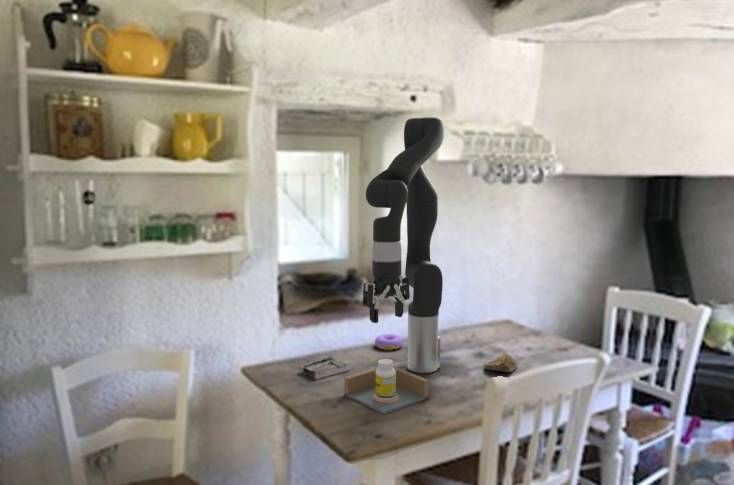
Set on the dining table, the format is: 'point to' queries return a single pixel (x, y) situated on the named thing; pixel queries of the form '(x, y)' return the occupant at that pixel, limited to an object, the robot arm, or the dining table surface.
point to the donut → (389, 341)
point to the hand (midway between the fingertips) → (386, 319)
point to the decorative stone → (501, 364)
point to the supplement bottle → (385, 380)
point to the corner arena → (407, 390)
